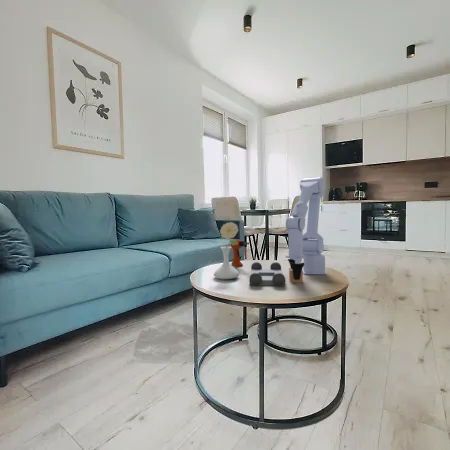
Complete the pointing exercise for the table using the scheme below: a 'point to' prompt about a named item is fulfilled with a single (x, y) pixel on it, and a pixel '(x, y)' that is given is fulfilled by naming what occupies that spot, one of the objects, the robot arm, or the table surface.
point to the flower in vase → (227, 253)
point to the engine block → (293, 277)
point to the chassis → (266, 275)
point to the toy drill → (237, 253)
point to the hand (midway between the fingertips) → (295, 277)
